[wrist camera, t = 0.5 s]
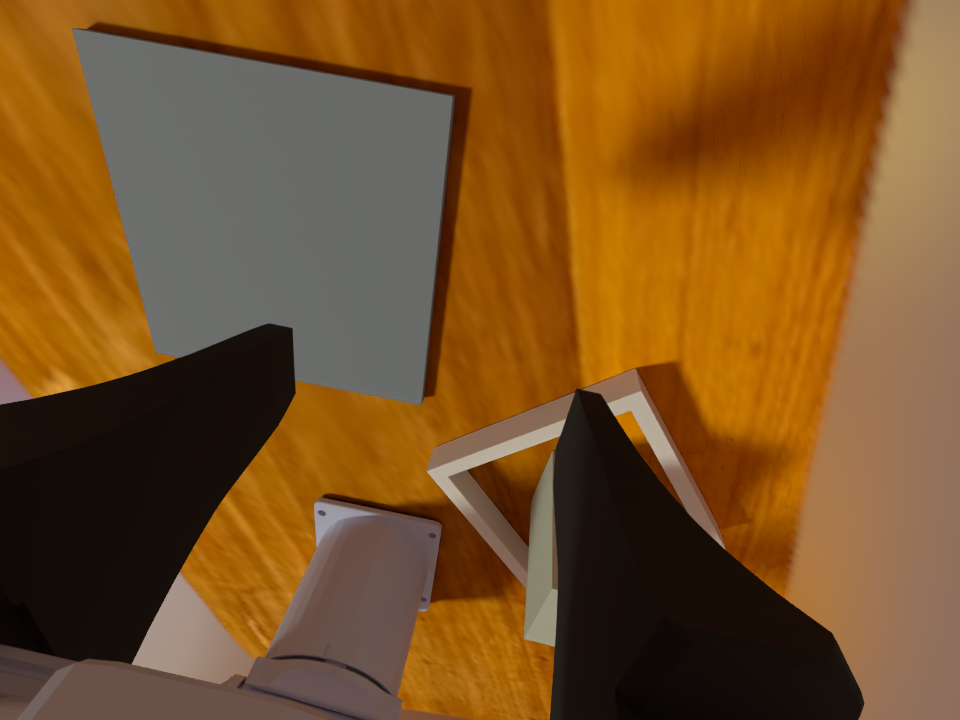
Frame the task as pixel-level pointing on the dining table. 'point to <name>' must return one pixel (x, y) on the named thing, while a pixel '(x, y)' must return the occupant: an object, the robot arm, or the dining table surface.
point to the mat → (277, 205)
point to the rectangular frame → (543, 426)
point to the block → (542, 563)
